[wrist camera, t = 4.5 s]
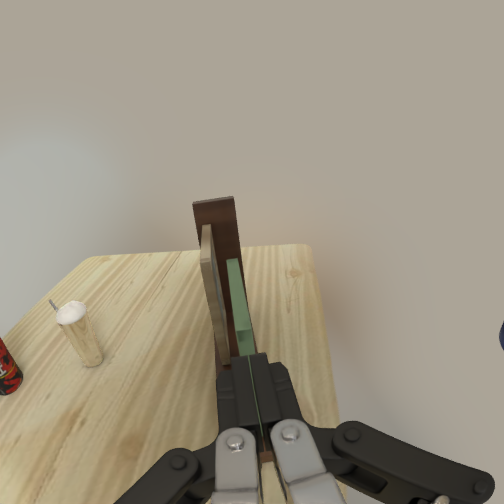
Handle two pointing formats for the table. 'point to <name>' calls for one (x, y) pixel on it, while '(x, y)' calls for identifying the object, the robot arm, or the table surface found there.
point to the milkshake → (79, 331)
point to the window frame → (221, 276)
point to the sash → (241, 314)
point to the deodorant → (8, 372)
